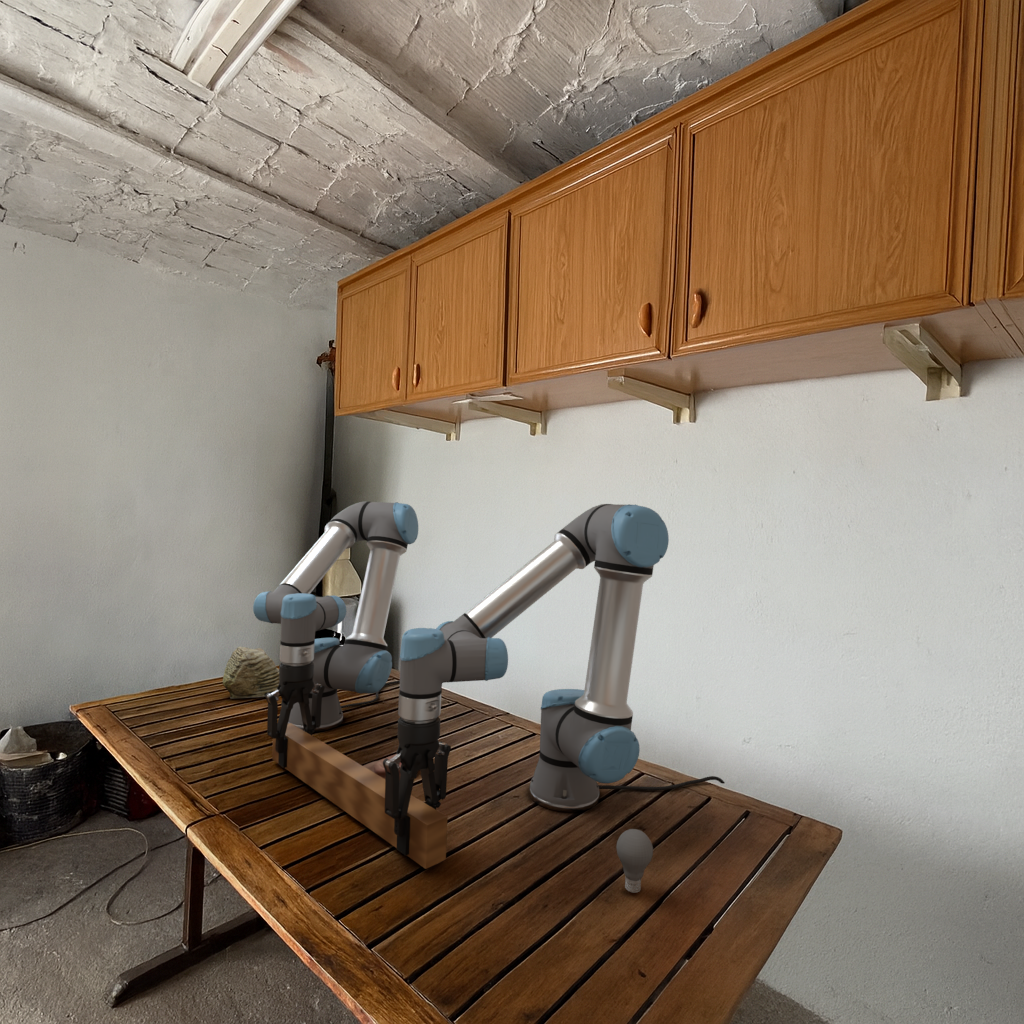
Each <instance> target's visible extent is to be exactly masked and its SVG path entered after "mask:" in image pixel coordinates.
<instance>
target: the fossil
mask: <svg viewBox="0 0 1024 1024" xmlns="http://www.w3.org/2000/svg"><path fill="white" fill-rule="evenodd" d="M222 676H223V677H222V685H223V687H224V688H225V690H226V691H228V693H229V698H230V699H250V698H264V697H265V695H266V694H267V693H270V694H271V693H272V692H274V691H276V690H277V687H278V685H279V668H278V667H277V665H276V663H275V662H274V660H273V659H272V658H271V657H270V656H269V655H268V654H267V653H266V652H265V650H264V649H263V648H260V647H258V648H251V647H247V646H246V647H245V646H238V647H237V648H236V649H235V650H233V651H232V653H231V656H230V657H229V659H228V660H227V663H226V666H225V668H224V671H223V675H222ZM265 698H266V697H265Z"/></svg>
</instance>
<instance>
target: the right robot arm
mask: <svg viewBox="0 0 1024 1024" xmlns="http://www.w3.org/2000/svg"><path fill="white" fill-rule="evenodd" d="M669 541H670V539H669V531H668V527H667V525H666V523H665V521H664V520H663V519H662V517H661V515H660V514H659V513H658V512H657V511H655V510H654V509H652V508H650V507H647V506H643V505H638V504H631V503H630V504H613V503H600V504H598V505H595V506H592V507H591V508H589V509H587V510H585V511H584V512H582V513H581V514H580V515H578V516H577V517H575V518H574V519H573V520H571V521H570V522H569V523H567V524H566V525H565V526H564V527H562V528H561V529H560V530H559V531H558V532H555V534H554V539H553V541H552V542H551V543H550V544H549V545H548V546H546V547H545V548H544V549H542V550H541V551H540V552H539V553H537V555H535V556H534V557H533V558H532V559H530V560H528V562H526V563H525V564H523V566H521V567H520V568H518V569H517V570H516V571H515V572H514V573H513V574H512V575H510V576H509V577H508V578H507V579H505V580H504V581H503V582H501V583H500V584H499V585H498V586H496V587H495V588H494V589H492V591H490V592H489V593H488V594H487V595H485V596H484V597H483V598H482V599H480V600H479V601H478V602H477V603H475V604H474V605H472V607H470V608H469V609H468V610H466V611H465V612H464V613H463V614H461V615H460V616H459V617H457V618H456V619H455V620H454V621H453V620H448V621H444V622H442V623H441V624H439V625H438V626H437V627H436V628H432V627H428V628H427V627H416V628H415V627H414V628H410V629H407V630H406V631H404V633H403V634H402V636H401V637H402V638H401V645H400V653H399V654H400V655H399V680H400V683H399V689H398V690H399V691H398V707H397V715H398V716H399V718H398V719H397V734H396V735H397V736H396V737H397V741H398V747H397V749H396V753H395V754H396V755H395V754H394V755H395V756H394V757H393V758H391V759H390V760H389V759H385V758H384V759H385V760H384V761H383V766H384V769H385V772H386V773H385V813H386V814H387V815H389V816H390V817H392V818H393V819H394V833H395V834H396V835H397V848H396V847H395V849H396V851H398V852H400V853H401V854H402V855H404V856H406V857H407V855H408V854H409V840H410V817H409V816H407V811H408V807H409V802H410V797H411V795H412V792H413V787H414V782H415V779H417V777H418V773H419V771H420V777H421V783H422V790H423V797H424V801H425V802H424V803H425V804H427V805H429V806H431V807H432V808H434V809H436V810H437V809H439V808H440V807H441V805H442V802H440V801H442V800H445V799H446V797H447V785H448V765H449V764H448V763H449V756H450V754H451V749H452V747H451V745H449V744H448V743H446V742H444V741H439V739H440V737H441V721H442V719H441V717H440V716H441V714H442V693H443V692H442V691H443V689H442V687H443V684H444V683H445V684H446V683H462V682H476V681H477V682H480V681H485V682H488V681H492V680H497V679H501V678H503V677H504V676H505V675H506V673H507V670H508V665H509V654H508V653H509V651H508V648H507V645H506V643H505V641H504V640H503V639H502V638H500V637H494V636H496V635H497V634H498V633H500V632H501V631H502V630H503V629H504V628H506V627H507V626H508V625H510V624H511V623H512V622H513V621H514V620H516V619H517V618H518V617H519V616H520V615H522V614H523V613H524V612H526V611H527V609H529V608H530V607H532V606H533V605H534V604H535V603H536V602H537V601H539V600H540V599H541V598H542V597H544V596H545V595H546V594H547V593H548V592H550V591H551V590H552V589H553V588H554V587H556V586H557V585H558V584H560V582H562V581H563V580H564V579H565V578H567V577H568V576H569V575H570V574H572V573H574V571H575V570H577V569H579V570H584V569H586V567H588V566H589V565H591V563H594V565H593V568H594V570H595V571H596V573H597V574H598V575H599V583H598V590H597V591H598V592H597V597H596V603H595V604H596V605H595V613H594V618H593V619H594V620H593V627H592V632H591V633H592V634H591V641H590V648H589V656H588V662H587V669H586V677H585V682H584V683H585V684H584V689H581V688H560V689H559V688H558V689H551V690H548V691H546V692H545V693H544V694H543V695H542V699H541V705H540V728H539V729H540V731H539V756H538V761H537V762H536V763H537V764H536V766H535V770H534V773H533V776H532V778H531V780H530V783H529V796H530V799H531V800H532V801H533V802H535V803H536V804H538V805H539V806H541V807H543V808H546V809H547V810H548V809H549V810H552V811H557V812H563V813H564V812H565V813H566V812H567V813H575V812H583V811H587V810H590V809H592V808H594V807H595V806H597V804H598V803H599V801H600V790H620V791H621V790H622V791H624V790H625V791H649V792H652V791H657V792H658V791H669V790H675V789H679V788H683V787H686V786H690V785H696V784H701V783H704V782H708V781H717V782H719V783H720V784H725V783H726V781H724V780H723V779H722V778H721V777H718V776H714V775H709V776H705V777H702V778H698V779H692V780H686V781H684V782H680V783H676V784H672V785H664V786H639V785H638V786H636V785H612V784H614V783H617V782H620V781H621V780H623V779H624V778H625V777H626V775H627V774H630V773H631V772H632V771H633V769H634V768H635V766H636V764H637V763H638V760H639V758H640V757H639V756H640V749H641V748H640V742H639V740H638V737H637V736H636V733H634V731H632V725H633V724H632V722H633V717H634V711H633V710H632V709H631V707H630V706H629V704H628V696H629V689H630V682H631V675H632V668H633V661H634V652H635V647H636V646H635V645H636V638H637V633H638V625H639V616H640V609H641V602H642V597H643V590H644V589H643V587H644V584H645V583H646V582H647V581H648V580H649V579H651V578H652V577H653V573H654V566H655V565H656V564H658V563H659V562H661V561H660V560H661V559H662V558H664V557H665V555H666V553H667V551H668V548H669ZM400 762H401V768H400V767H399V763H400ZM398 770H400V774H401V776H400V780H399V771H398ZM598 783H600V784H598ZM608 784H610V785H608Z"/></svg>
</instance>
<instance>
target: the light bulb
mask: <svg viewBox="0 0 1024 1024" xmlns="http://www.w3.org/2000/svg"><path fill="white" fill-rule="evenodd" d="M615 849H616V854H617V857H618V859H619V861H620V863H621V865H622V867H623V873H624V874H623V875H624V876H625V878H624V888H625V890H627V891H628V892H630V893H634V894H635V893H639V892H640V891H641V889H642V887H641V886H642V879H643V877H644V875H645V871H646V868H647V867H648V866H649V864H650V863H651V861H652V859H653V855H654V847H653V843H652V841H651V838H649V836H648V835H647V834H646V833H645V832H643V831H642V830H641V829H636V828H629V829H627V830H625V831H623V832H622V833H621V834H620V835H619V837H618V839H617V841H616V847H615Z"/></svg>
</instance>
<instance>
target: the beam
mask: <svg viewBox="0 0 1024 1024" xmlns="http://www.w3.org/2000/svg"><path fill="white" fill-rule="evenodd" d="M285 737H286V738H287V739H288V747H287V767H286V768H284V769H285V770H286V771H288V772H289V773H291V774H292V775H294V776H295V777H296V778H298V779H299V780H300V781H302V782H303V783H305V784H306V785H308V786H309V787H310V788H311V789H313V790H314V791H316V792H317V793H318V794H320V795H321V796H323V797H324V798H325V799H327V800H329V801H330V802H331V803H333V804H334V805H335V806H337V807H338V808H339V809H341V810H342V811H344V812H345V813H347V814H348V815H349V816H351V817H352V818H353V819H355V820H356V821H358V822H359V823H361V824H362V825H364V826H365V827H366V828H367V829H369V830H370V831H372V832H373V833H374V834H376V835H377V836H379V837H380V838H381V839H382V840H384V841H386V842H387V843H388V844H389V845H391V846H392V847H394V848H395V849H396V848H397V835H396V834H395V833H394V819H393V818H392V817H390V816H389V815H387V814H386V813H385V779H384V778H382V777H380V776H379V775H377V774H375V773H374V772H372V771H370V770H369V769H367V768H365V767H364V765H362V764H360V763H358V762H357V761H355V760H354V759H352V758H350V757H348V756H346V755H345V754H344V753H342V752H340V751H338V750H337V749H335V748H333V747H332V746H330V745H329V744H327V743H325V742H323V741H322V740H320V739H318V738H316V737H315V736H313V734H312V735H310V734H308V733H307V732H305V731H303V730H302V729H300V728H298V727H297V726H295V725H293V724H292V723H290V724H288V725H287V729H286V733H285ZM275 743H276V738H275V739H273V738H272V753H271V760H272V761H274V762H275V763H277V764H278V757H279V753H277V752H276V750H275ZM425 803H426V802H424V801H422V800H421V799H419V798H417V797H416V796H413V795H412V794H411V797H410V802H409V807H408V811H407V816H409V817H410V840H409V854H408V855H406V857H408V858H409V859H411V860H412V861H413V862H414V863H416V864H418V865H419V866H421V867H422V868H423V869H425V870H427V869H429V868H432V867H433V866H435V865H437V864H440V863H442V862H444V861H445V860H447V839H448V815H446V814H445V813H443V812H441V811H439V810H438V809H437V808H436V809H434V808H432V807H431V806H429V805H427V804H425Z"/></svg>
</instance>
